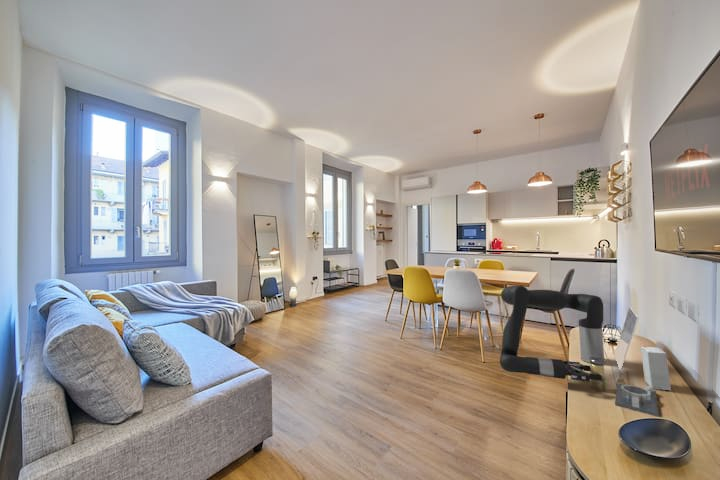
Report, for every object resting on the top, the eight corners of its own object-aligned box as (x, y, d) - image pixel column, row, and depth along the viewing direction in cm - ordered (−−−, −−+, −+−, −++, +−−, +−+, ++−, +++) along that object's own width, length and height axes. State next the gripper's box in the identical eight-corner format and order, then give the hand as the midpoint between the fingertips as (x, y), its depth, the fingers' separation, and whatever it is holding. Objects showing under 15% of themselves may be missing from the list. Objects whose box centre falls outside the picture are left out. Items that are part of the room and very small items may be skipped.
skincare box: (671, 391, 112) (668, 353, 113) (650, 388, 115) (647, 351, 116) (662, 382, 119) (659, 347, 120) (642, 380, 122) (640, 345, 123)
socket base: (617, 385, 119) (617, 376, 119) (655, 393, 111) (655, 384, 111) (615, 405, 105) (614, 395, 105) (658, 416, 97) (657, 406, 97)
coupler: (592, 385, 120) (589, 356, 120) (606, 388, 116) (604, 359, 117) (590, 389, 116) (588, 359, 117) (605, 393, 113) (603, 362, 114)
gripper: (553, 365, 117) (603, 370, 110) (547, 353, 130) (591, 357, 123) (554, 383, 117) (604, 390, 110) (548, 370, 130) (592, 375, 123)
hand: (597, 373), depth 117 cm, fingers open, 8 cm apart
